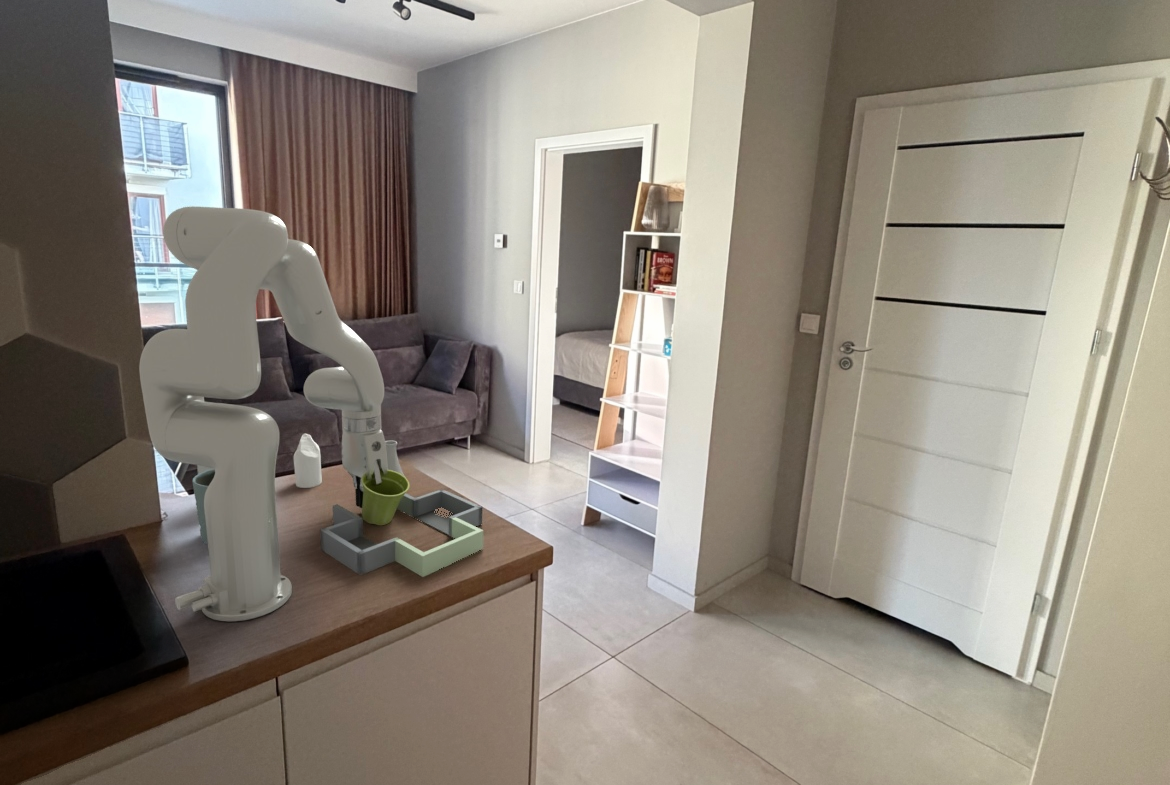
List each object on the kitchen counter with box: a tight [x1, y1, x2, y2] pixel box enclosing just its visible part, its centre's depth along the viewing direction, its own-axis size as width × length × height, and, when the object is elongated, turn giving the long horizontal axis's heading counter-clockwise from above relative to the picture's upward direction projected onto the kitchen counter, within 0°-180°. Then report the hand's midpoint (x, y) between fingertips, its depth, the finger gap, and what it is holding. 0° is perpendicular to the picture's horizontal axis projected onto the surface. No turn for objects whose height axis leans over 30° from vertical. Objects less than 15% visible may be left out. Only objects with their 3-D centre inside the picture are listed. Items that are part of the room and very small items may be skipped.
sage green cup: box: [192, 469, 215, 546], centre depth 116 cm, size 10×10×12 cm
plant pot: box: [361, 469, 410, 526], centre depth 125 cm, size 9×9×9 cm
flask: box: [385, 440, 406, 477], centre depth 146 cm, size 7×7×10 cm
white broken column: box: [293, 433, 323, 489], centre depth 142 cm, size 6×12×6 cm
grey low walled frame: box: [319, 488, 484, 578], centre depth 120 cm, size 28×29×4 cm
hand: (364, 505), depth 130 cm, fingers closed
